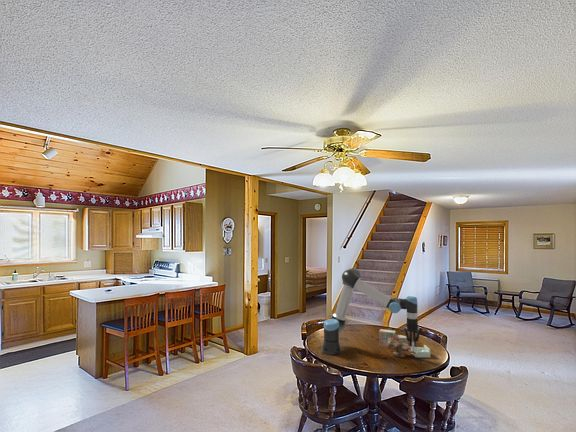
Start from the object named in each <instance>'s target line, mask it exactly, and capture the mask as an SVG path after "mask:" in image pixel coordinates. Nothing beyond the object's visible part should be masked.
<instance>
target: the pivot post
mask: <svg viewBox="0 0 576 432" xmlns="http://www.w3.org/2000/svg"><path fill="white" fill-rule="evenodd" d="M392 353H393V354H394V355H395V357H396V358H405V354H404V353H403V349H402V345H398V346H396V348H395V351H393V352H392Z"/></svg>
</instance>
